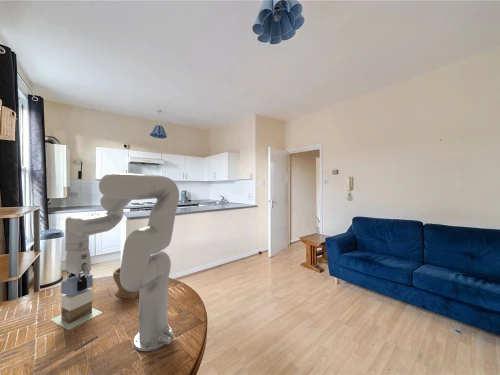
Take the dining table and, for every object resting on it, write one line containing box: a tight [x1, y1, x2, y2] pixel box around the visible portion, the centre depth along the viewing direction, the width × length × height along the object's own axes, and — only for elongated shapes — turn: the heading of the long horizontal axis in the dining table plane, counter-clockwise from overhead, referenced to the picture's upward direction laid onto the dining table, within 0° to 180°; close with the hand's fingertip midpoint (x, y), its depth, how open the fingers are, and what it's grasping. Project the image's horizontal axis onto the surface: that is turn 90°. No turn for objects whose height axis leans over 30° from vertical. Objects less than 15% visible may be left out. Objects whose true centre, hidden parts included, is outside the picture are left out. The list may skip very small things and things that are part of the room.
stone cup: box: [112, 266, 140, 300], centre depth 103 cm, size 15×12×15 cm
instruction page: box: [73, 336, 99, 352], centre depth 74 cm, size 9×7×1 cm
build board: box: [50, 307, 103, 331], centre depth 86 cm, size 14×12×1 cm
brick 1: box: [60, 273, 94, 296], centre depth 86 cm, size 6×8×5 cm
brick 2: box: [61, 287, 93, 311], centre depth 86 cm, size 6×8×5 cm
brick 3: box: [60, 300, 93, 324], centre depth 86 cm, size 6×8×5 cm
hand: (77, 287), depth 86 cm, fingers closed on brick 1, 6 cm apart
